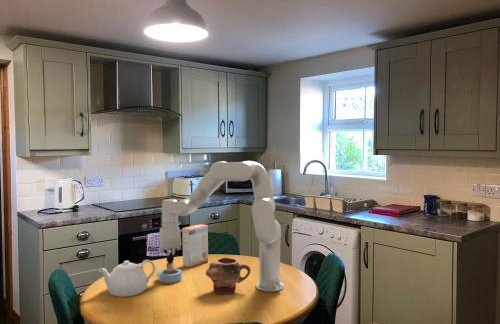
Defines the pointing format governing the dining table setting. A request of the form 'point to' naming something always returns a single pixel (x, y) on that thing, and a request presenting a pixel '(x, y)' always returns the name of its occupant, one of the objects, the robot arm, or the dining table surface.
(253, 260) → the dining table surface
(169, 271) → the lid
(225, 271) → the sculpted mug
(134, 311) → the dining table surface
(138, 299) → the dining table surface
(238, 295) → the dining table surface
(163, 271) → the blue faceted bowl
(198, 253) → the cracker box
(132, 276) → the teapot
